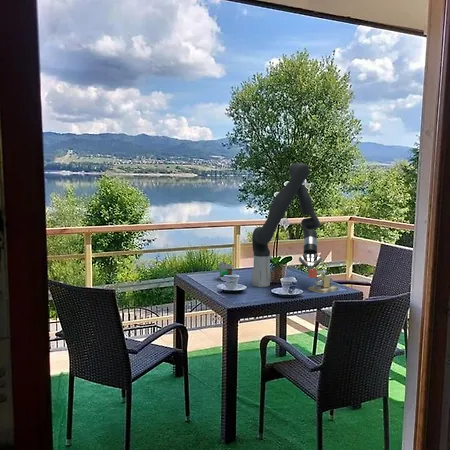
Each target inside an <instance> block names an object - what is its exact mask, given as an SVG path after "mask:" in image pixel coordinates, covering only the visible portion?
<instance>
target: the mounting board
mask: <svg viewBox="0 0 450 450" xmlns="http://www.w3.org/2000/svg"><path fill="white" fill-rule="evenodd" d="M314 286H315V285H313V286H310V287H308V291H311V292H315V293H319V294H327V293H331V292H335V290H336V291H339V287H338V286H335V285H333V286H331V287H325V288H322V287H321V289H315V288H314Z"/></svg>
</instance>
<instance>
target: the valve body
mask: <svg viewBox="0 0 450 450" xmlns="http://www.w3.org/2000/svg"><path fill="white" fill-rule="evenodd" d="M333 282H334V281H333V278H332V277H331V276H330V275H329V276H328V275H325V276H322V275H317V279H316V280H315V281H314V282H313V283H314V285H313V286H314V288H315V289H321V287H322V288H325V287H331V286H334V285H333Z"/></svg>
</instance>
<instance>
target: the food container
mask: <svg viewBox="0 0 450 450" xmlns="http://www.w3.org/2000/svg"><path fill="white" fill-rule="evenodd" d="M217 267H218V269H219V278H220V277H223V276H224V275H232V274H233V265H232V264H229V263H226V261H221V262H219V263H218V266H217Z"/></svg>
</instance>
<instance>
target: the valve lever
mask: <svg viewBox="0 0 450 450" xmlns="http://www.w3.org/2000/svg"><path fill="white" fill-rule="evenodd" d="M326 273H327V270H326V269H321V270H318V269H317V268H315V267H313V269H309V273H308V278H310V279H316V278H317V279H318V274H322V275H321V276H326ZM327 274H328V273H327Z"/></svg>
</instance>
